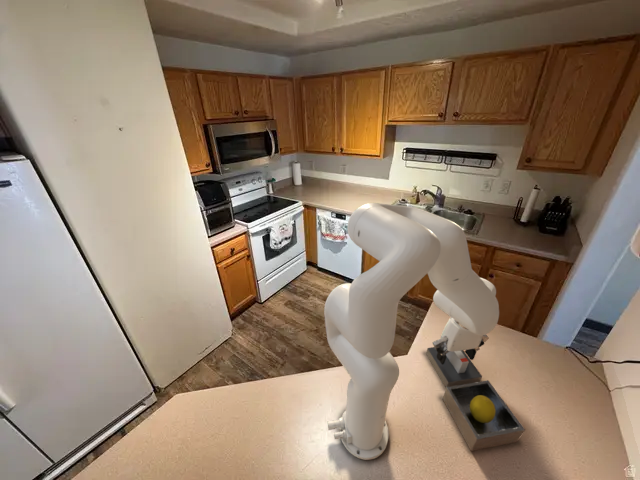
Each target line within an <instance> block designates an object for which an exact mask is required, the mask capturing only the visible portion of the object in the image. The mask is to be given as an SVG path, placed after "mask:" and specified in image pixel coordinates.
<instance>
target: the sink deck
mask: <svg viewBox="0 0 640 480" xmlns="http://www.w3.org/2000/svg"><path fill="white" fill-rule="evenodd" d="M444 347H445V346H444ZM444 347H443V350H444ZM461 352H462V353H463V354H464V356H465V357H466V358H467V360H468V361H469V363H468V365H467V368H466V370H465V372H464V373H457V371H456V370H455V368H454V367H453V365H452V363H451V362H450V360H449V359H448V357H446V360H445V363H444V364H441V363H440V361H439V360H438V359H437V353H438V352H437V351H436V349H435V347H434V346H431V347H427V349H426V351H425V354H426V356H427V358H428V360H429V362H430V363H431V366H433V368H434V370H435V372H436V374H437V375H438V377H439V379H440V380H441V382H442V384H443V386H444V387H445V389H446V388H447V387H451V386H457V385H463V384H469V383H475V382H481V381H482V379H483V375H482V374H481V372H480V371H479V369H477V367H476V366H475V364H474V363H473V361H472V360H471V359H470V358H469V357H468V355H467V354H466V353H465V350H462V351H461Z"/></svg>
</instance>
